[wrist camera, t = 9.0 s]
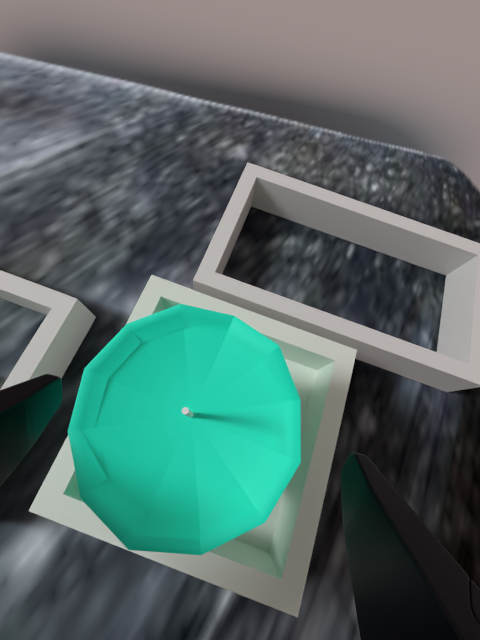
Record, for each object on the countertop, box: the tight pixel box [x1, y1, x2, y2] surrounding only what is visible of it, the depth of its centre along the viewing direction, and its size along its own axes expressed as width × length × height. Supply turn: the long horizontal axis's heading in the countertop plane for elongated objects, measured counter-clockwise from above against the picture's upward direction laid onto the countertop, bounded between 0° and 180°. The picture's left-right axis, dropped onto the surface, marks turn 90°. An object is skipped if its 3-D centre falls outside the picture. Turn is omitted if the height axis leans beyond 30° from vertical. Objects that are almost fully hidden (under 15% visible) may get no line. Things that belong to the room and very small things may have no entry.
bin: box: [29, 275, 357, 617], centre depth 17 cm, size 12×12×4 cm
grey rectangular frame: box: [193, 163, 480, 392], centre depth 21 cm, size 10×18×3 cm, turn 70°
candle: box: [68, 304, 301, 555], centre depth 12 cm, size 6×6×12 cm
